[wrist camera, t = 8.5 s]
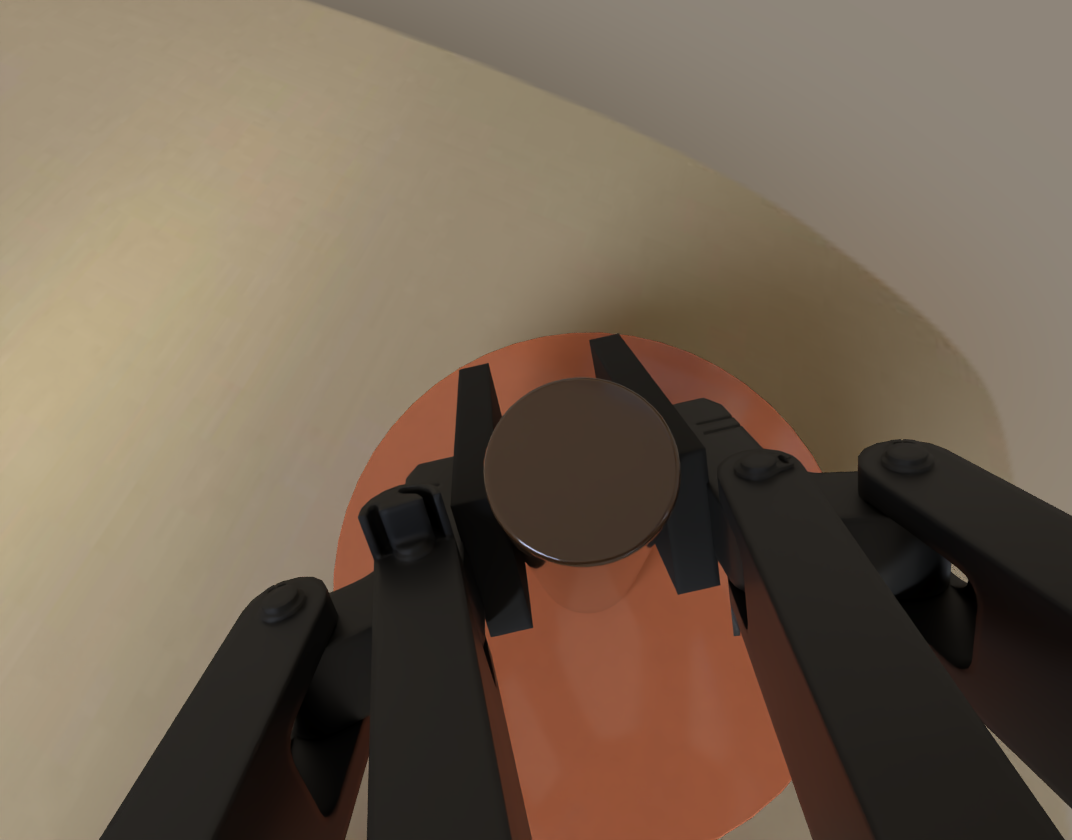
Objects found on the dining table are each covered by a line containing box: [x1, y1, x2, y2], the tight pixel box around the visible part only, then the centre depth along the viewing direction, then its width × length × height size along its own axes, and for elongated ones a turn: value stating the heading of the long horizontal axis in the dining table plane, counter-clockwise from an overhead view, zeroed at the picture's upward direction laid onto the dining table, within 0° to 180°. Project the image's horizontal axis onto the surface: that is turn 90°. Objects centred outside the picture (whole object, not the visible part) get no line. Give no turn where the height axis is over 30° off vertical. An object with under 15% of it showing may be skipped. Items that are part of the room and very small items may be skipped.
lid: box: [334, 333, 822, 840], centre depth 13 cm, size 14×14×10 cm
